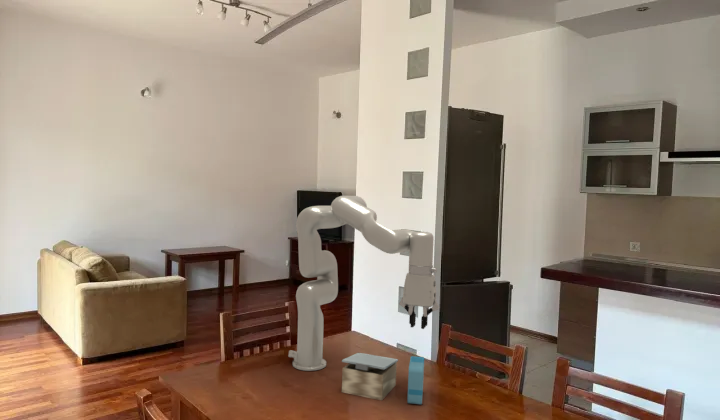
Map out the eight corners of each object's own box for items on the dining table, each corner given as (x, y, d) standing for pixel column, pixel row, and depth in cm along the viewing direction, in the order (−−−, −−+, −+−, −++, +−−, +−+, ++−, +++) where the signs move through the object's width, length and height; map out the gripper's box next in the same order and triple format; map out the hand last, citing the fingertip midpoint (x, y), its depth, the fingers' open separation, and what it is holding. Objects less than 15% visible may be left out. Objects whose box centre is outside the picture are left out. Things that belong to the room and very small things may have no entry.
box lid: (340, 365, 165) (340, 360, 165) (357, 357, 179) (358, 352, 180) (382, 373, 160) (383, 368, 160) (397, 364, 174) (398, 359, 174)
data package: (421, 406, 158) (423, 368, 157) (407, 404, 159) (408, 367, 158) (422, 391, 170) (424, 355, 169) (409, 389, 171) (410, 354, 170)
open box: (341, 392, 167) (342, 368, 166) (358, 377, 179) (358, 355, 179) (381, 400, 161) (382, 375, 161) (395, 384, 174) (396, 362, 174)
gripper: (448, 271, 163) (445, 327, 164) (399, 266, 169) (397, 321, 170) (442, 274, 156) (440, 333, 157) (392, 269, 162) (390, 326, 163)
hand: (418, 326), depth 163 cm, fingers open, 2 cm apart
